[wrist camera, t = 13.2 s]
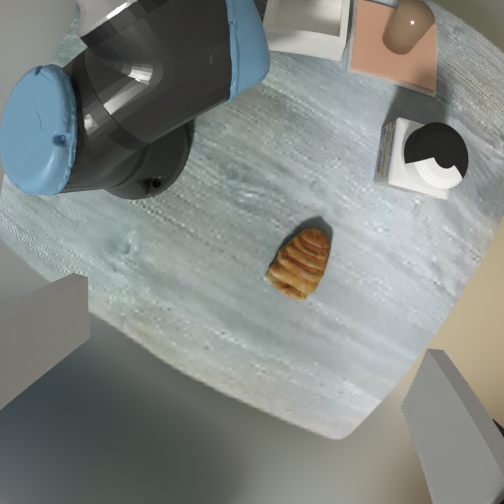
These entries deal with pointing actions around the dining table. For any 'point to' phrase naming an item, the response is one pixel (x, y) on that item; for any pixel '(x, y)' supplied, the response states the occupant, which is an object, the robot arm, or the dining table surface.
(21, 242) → the dining table surface
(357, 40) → the lid
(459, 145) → the container
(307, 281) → the pastry
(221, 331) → the dining table surface
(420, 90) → the mat
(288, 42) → the white open box
